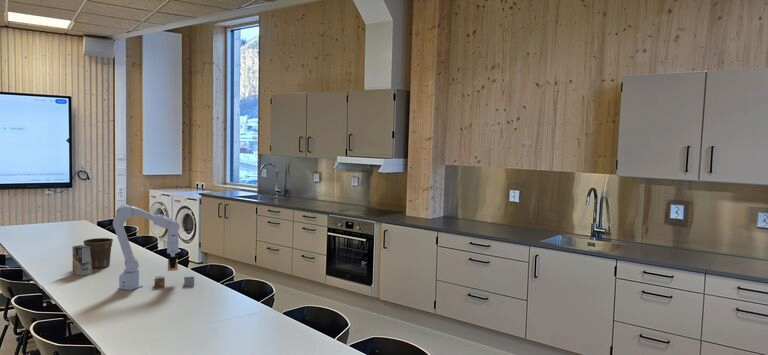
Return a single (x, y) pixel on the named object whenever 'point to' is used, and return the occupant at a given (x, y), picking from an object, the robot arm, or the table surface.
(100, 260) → the plant pot
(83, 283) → the table surface
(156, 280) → the walnut block
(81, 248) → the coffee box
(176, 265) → the orange block
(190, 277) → the slate block
